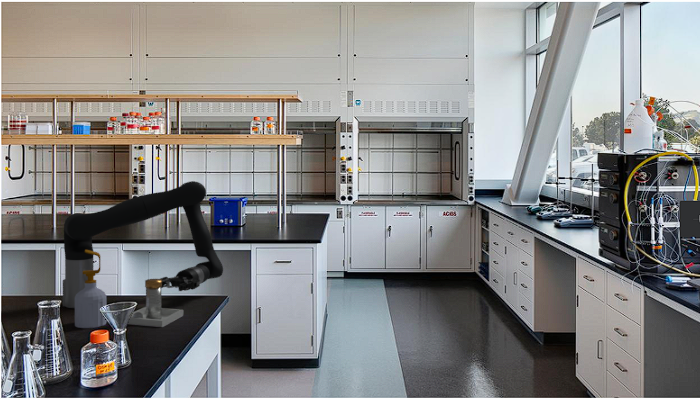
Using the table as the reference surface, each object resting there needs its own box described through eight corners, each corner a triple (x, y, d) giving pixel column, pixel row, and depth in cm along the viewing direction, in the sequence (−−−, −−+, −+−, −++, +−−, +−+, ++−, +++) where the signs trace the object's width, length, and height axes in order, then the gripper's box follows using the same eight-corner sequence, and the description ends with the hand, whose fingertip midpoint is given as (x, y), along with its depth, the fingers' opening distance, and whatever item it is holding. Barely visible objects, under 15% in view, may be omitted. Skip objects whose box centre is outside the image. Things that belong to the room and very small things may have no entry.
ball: (131, 322, 185) (131, 313, 184) (136, 319, 187) (136, 310, 187) (139, 323, 184) (139, 313, 184) (144, 320, 187) (144, 311, 187)
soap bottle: (75, 324, 184) (75, 248, 182) (106, 321, 188) (106, 247, 186) (74, 332, 176) (73, 252, 174) (106, 329, 179) (106, 251, 178)
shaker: (142, 320, 186) (142, 281, 186) (150, 316, 192) (150, 278, 191) (156, 322, 186) (156, 282, 185) (165, 317, 191) (164, 279, 190)
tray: (121, 326, 183) (121, 317, 183) (145, 315, 197) (145, 306, 197) (162, 330, 180) (162, 320, 180) (183, 318, 194) (183, 309, 194)
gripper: (172, 266, 214) (149, 275, 198) (208, 269, 211) (187, 278, 195) (172, 286, 215) (149, 296, 199) (207, 289, 212) (187, 299, 196)
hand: (168, 287), depth 197 cm, fingers open, 8 cm apart
